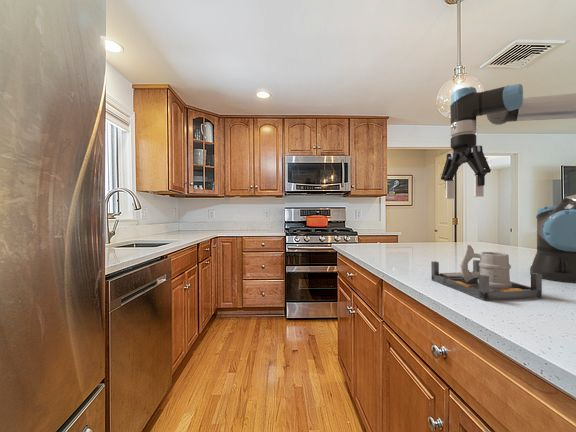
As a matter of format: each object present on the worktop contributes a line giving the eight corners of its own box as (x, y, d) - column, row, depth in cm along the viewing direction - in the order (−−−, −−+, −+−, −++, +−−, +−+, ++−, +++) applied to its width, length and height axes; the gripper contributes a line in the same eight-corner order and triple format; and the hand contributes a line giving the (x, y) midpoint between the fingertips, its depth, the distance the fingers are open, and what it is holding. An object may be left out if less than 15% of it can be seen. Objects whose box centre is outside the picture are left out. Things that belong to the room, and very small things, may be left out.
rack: (477, 278, 92) (477, 260, 92) (541, 297, 71) (542, 274, 71) (431, 280, 90) (431, 261, 90) (483, 300, 69) (483, 276, 69)
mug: (514, 294, 72) (514, 248, 72) (460, 288, 78) (460, 245, 78) (509, 287, 79) (509, 245, 78) (460, 282, 85) (460, 242, 85)
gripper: (430, 144, 108) (430, 199, 108) (482, 124, 83) (482, 195, 83) (448, 144, 109) (448, 199, 109) (505, 124, 84) (504, 195, 84)
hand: (463, 197), depth 96 cm, fingers open, 13 cm apart
